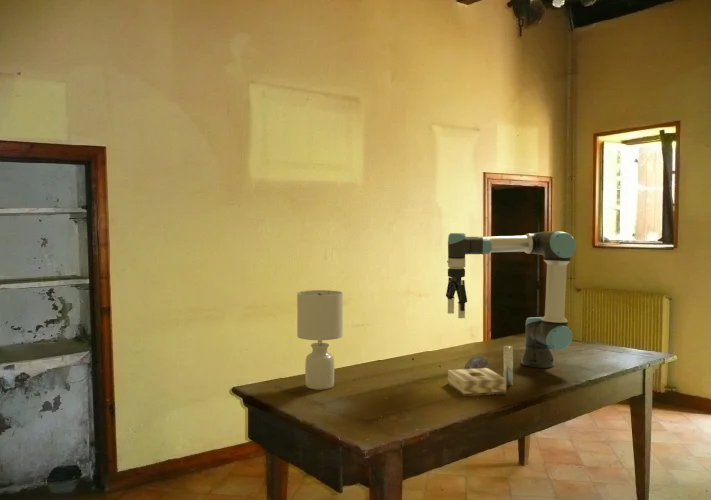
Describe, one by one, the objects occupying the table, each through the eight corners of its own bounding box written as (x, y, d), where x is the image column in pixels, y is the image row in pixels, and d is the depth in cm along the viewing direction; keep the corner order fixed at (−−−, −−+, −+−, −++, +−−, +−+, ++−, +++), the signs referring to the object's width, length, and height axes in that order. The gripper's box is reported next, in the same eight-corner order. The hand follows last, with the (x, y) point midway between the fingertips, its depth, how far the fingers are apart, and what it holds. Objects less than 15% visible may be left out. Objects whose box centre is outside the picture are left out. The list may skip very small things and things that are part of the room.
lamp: (307, 395, 227) (307, 296, 226) (290, 383, 244) (290, 291, 242) (350, 389, 236) (350, 294, 234) (330, 378, 253) (330, 289, 251)
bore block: (487, 381, 248) (487, 368, 247) (506, 393, 230) (506, 379, 230) (447, 383, 244) (447, 369, 244) (463, 396, 227) (463, 381, 226)
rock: (491, 366, 263) (485, 350, 259) (489, 382, 255) (483, 365, 251) (468, 369, 268) (462, 352, 264) (466, 384, 260) (459, 367, 256)
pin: (510, 382, 246) (510, 345, 246) (514, 385, 243) (515, 347, 242) (501, 383, 246) (501, 346, 245) (505, 385, 242) (506, 348, 241)
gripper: (439, 266, 265) (438, 311, 266) (458, 270, 241) (457, 320, 242) (454, 265, 267) (454, 311, 268) (475, 270, 242) (474, 320, 243)
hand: (456, 315), depth 255 cm, fingers open, 13 cm apart
